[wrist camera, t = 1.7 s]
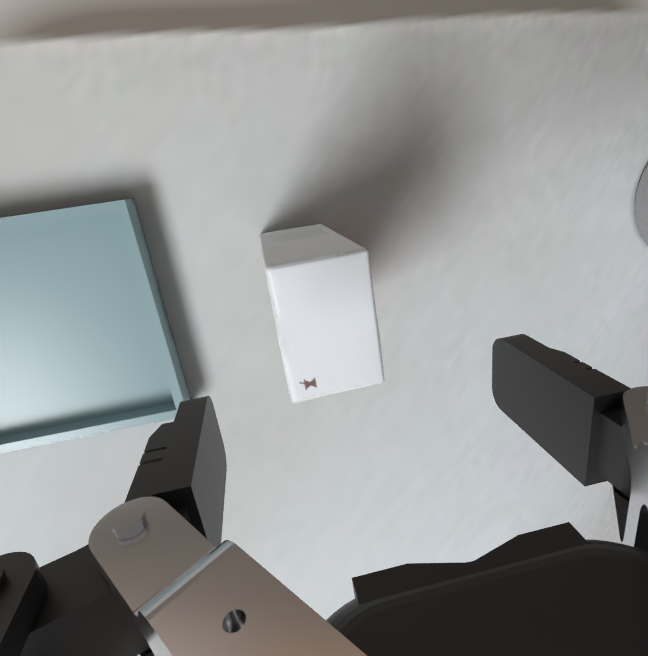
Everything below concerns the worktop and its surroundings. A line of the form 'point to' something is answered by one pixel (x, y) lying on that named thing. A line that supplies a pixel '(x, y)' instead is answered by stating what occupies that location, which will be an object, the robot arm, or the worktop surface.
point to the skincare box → (322, 311)
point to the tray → (81, 327)
